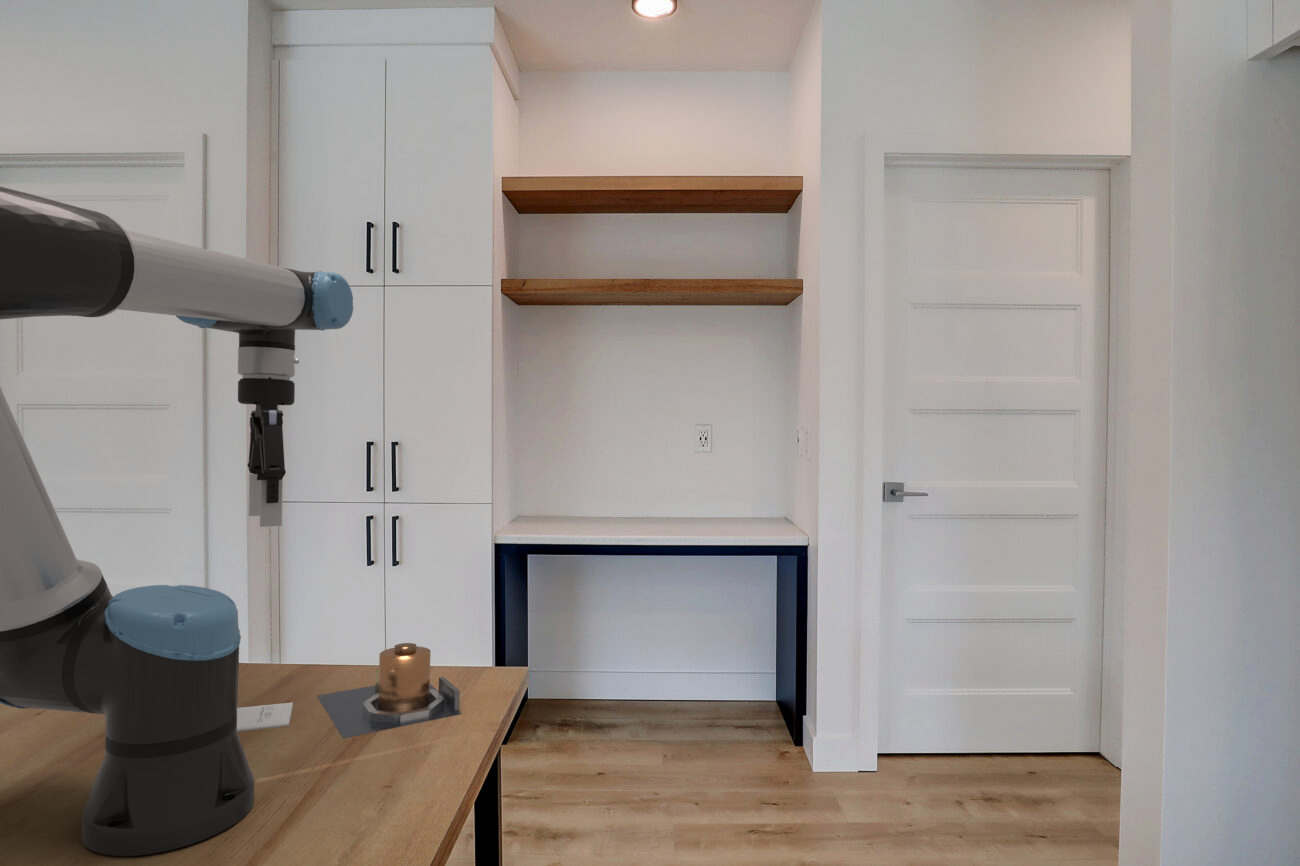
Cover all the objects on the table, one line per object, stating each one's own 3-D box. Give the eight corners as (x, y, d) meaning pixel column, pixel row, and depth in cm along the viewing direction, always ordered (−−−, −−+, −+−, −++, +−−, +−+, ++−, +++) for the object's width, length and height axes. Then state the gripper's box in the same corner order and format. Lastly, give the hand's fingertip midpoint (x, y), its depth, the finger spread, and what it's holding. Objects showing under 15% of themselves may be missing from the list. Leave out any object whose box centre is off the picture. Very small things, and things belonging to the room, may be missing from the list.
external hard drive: (194, 722, 104) (293, 711, 108) (182, 746, 96) (288, 733, 100) (194, 710, 104) (293, 700, 108) (182, 734, 96) (288, 721, 100)
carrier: (462, 717, 106) (462, 687, 106) (343, 741, 97) (343, 709, 97) (422, 680, 121) (423, 653, 121) (316, 698, 112) (317, 670, 112)
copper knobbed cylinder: (427, 715, 104) (429, 651, 105) (374, 718, 103) (376, 653, 103) (430, 698, 111) (432, 638, 111) (381, 701, 110) (383, 640, 110)
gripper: (309, 375, 103) (306, 529, 103) (282, 382, 123) (279, 510, 123) (248, 372, 98) (245, 532, 98) (230, 380, 119) (227, 512, 119)
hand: (264, 520), depth 111 cm, fingers open, 13 cm apart
